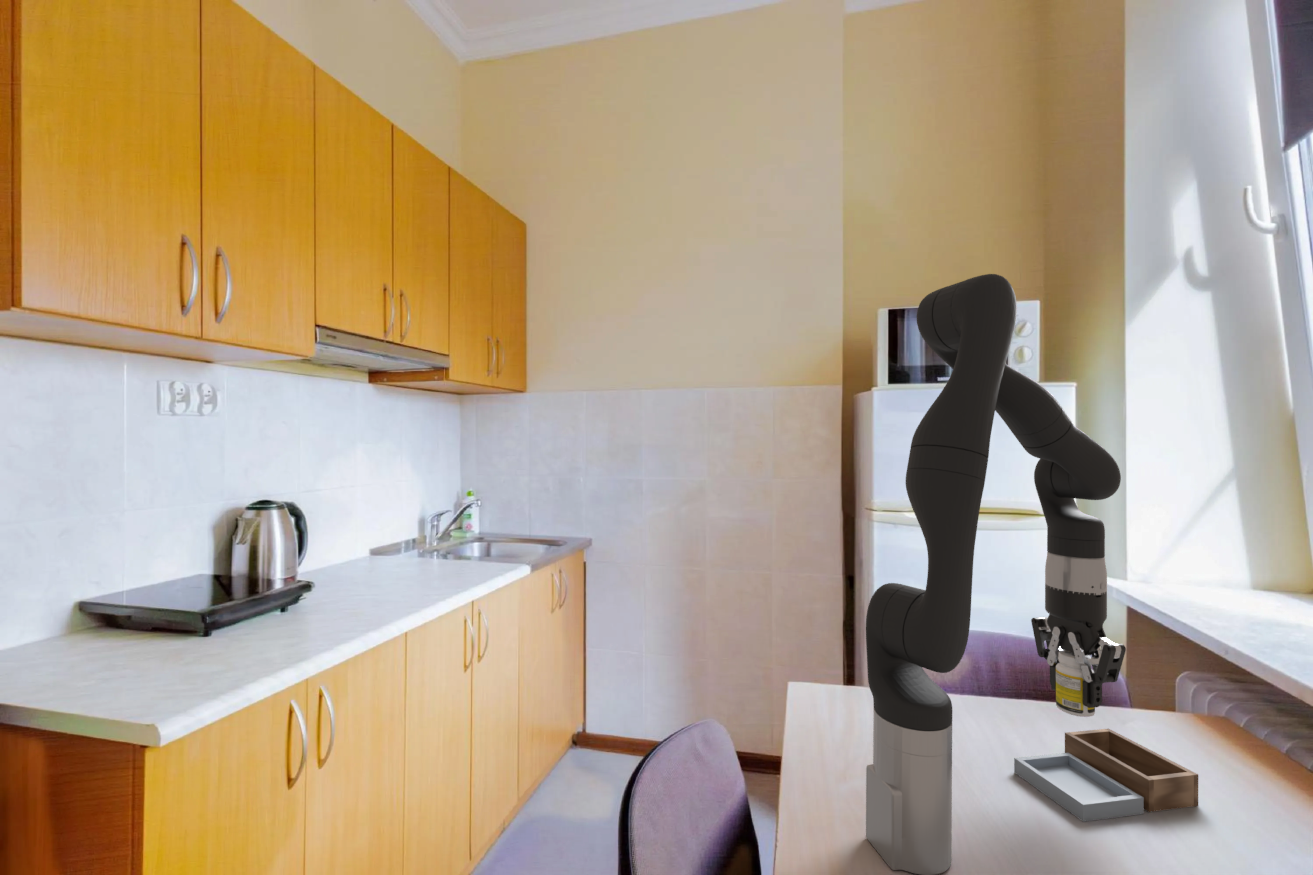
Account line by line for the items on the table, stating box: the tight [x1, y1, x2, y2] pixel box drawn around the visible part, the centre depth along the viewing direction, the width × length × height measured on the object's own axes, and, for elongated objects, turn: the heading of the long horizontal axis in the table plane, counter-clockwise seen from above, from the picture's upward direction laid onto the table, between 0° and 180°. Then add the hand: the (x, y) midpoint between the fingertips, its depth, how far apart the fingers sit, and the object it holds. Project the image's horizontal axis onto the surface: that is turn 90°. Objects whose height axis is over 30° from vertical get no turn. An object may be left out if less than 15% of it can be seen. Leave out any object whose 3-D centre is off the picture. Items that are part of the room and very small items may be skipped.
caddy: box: [1064, 728, 1199, 813], centre depth 89 cm, size 9×14×4 cm, turn 11°
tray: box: [1013, 752, 1144, 823], centre depth 86 cm, size 10×12×2 cm
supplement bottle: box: [1055, 650, 1096, 718], centre depth 86 cm, size 5×5×8 cm
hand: (1074, 697), depth 86 cm, fingers closed on supplement bottle, 4 cm apart
